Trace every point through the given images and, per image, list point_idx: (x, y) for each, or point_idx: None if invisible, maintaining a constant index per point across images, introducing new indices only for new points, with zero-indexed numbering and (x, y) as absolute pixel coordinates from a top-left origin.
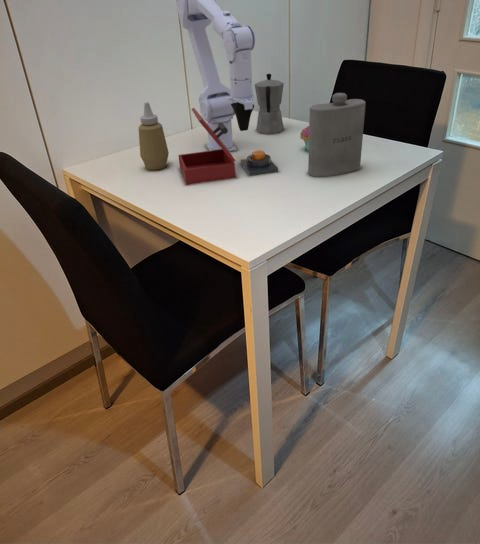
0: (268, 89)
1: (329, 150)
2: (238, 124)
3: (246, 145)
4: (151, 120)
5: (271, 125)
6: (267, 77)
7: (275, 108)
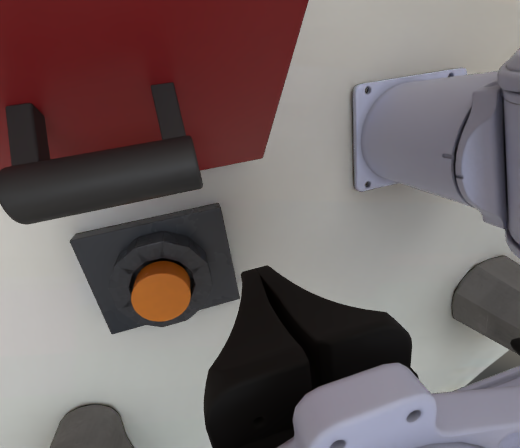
0: None
1: None
2: (265, 279)
3: (392, 224)
4: None
5: (478, 311)
6: None
7: None
